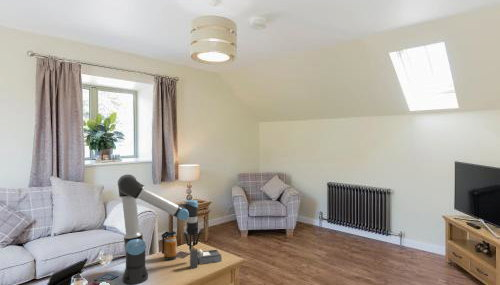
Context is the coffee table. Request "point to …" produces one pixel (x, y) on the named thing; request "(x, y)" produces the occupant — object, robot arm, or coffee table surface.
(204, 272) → the coffee table surface
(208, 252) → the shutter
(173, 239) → the canister
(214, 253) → the socket
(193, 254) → the plug
